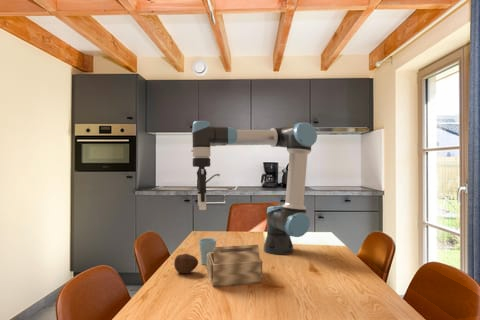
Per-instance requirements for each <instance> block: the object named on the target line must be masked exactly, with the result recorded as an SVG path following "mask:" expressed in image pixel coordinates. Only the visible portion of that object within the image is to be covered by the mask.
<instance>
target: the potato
mask: <svg viewBox="0 0 480 320" xmlns="http://www.w3.org/2000/svg"><path fill="white" fill-rule="evenodd" d="M198 264H199V260H198V258H197V257H195V256H194V255H192V254H188V253H183V254H179V255H176V257H175V258H174V262H173V265H174V269H175V271H176V272H177V273H179V274H189V273H191V272H193V271H194V270H195V269H196V268H197V267H198Z"/></svg>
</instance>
